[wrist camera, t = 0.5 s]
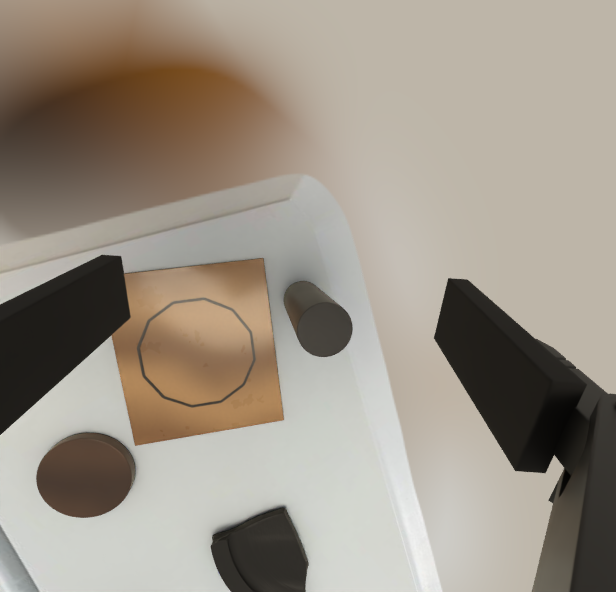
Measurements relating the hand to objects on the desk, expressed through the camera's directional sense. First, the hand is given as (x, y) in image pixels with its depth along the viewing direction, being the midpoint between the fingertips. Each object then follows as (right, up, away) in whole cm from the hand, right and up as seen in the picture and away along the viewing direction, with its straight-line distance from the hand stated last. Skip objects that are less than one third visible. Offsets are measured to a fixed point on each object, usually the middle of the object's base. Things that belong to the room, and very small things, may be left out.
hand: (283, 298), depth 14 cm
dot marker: (0, 0, +18) cm, 18 cm away
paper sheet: (-9, -5, +18) cm, 21 cm away
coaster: (-19, -16, +18) cm, 31 cm away
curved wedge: (-4, -28, +23) cm, 36 cm away
